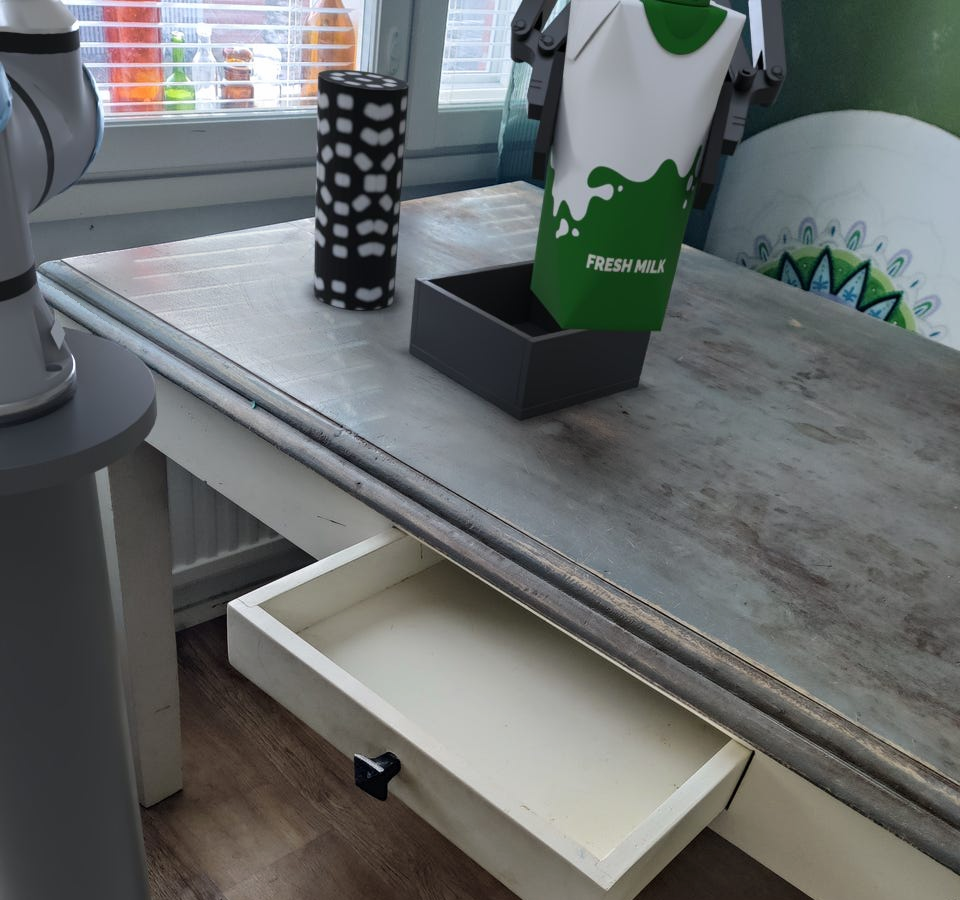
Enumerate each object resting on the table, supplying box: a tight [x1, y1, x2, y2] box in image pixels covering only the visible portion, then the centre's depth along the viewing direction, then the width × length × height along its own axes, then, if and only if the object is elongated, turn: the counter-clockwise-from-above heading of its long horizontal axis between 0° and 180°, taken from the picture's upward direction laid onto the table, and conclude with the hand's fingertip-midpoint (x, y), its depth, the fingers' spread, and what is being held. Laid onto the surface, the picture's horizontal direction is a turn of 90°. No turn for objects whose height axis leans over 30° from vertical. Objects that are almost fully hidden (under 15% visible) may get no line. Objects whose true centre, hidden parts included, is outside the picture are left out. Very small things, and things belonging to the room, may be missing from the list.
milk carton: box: [531, 0, 747, 333], centre depth 60 cm, size 9×9×20 cm
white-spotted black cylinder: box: [313, 69, 410, 311], centre depth 97 cm, size 8×8×20 cm
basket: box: [408, 259, 652, 421], centre depth 91 cm, size 16×16×7 cm
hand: (620, 181), depth 58 cm, fingers closed on milk carton, 9 cm apart
